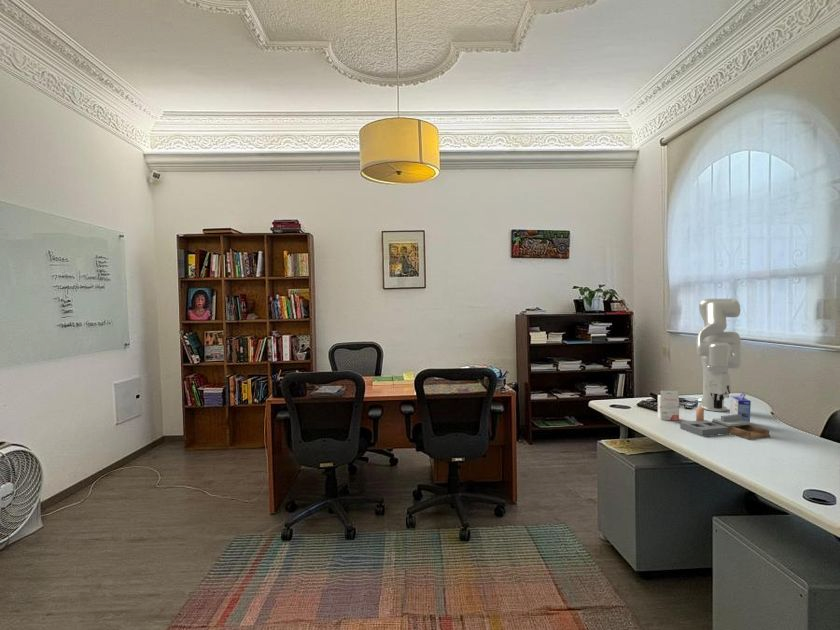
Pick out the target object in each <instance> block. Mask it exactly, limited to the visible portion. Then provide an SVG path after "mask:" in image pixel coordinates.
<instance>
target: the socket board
mask: <svg viewBox="0 0 840 630" xmlns="http://www.w3.org/2000/svg"><path fill="white" fill-rule="evenodd" d="M679 428H680V429H681V430H683V431H685V430H686V432H688V431H689V433H691V434H693V435H694V434H695V435H696V434H697V435H696V436H699V435H700V436H699V437H702V436H704V437H711V436H710V435H714V436H719V435H718V434H724V435H730V434H729V427H726V426H722V425H719V424H716V423H713V422H712V421H710V420H707V419H704V420H701V421H696V420H691V421H681V422H680V423H679Z"/></svg>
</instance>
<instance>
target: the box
mask: <svg viewBox="0 0 840 630" xmlns="http://www.w3.org/2000/svg"><path fill="white" fill-rule="evenodd" d="M711 422H713V423H716V424H719V425H722V426H726V427H729V433H730V434H729V435H732V434H733V436H735V435H736V436H735V437H739V438H741V439H745V440H757V439H765V438H768V439H769V438H771V435H770V430H768V429H766V428H761V427H759V426H755V425H753V424H750V425H740V426H727V425H724V424H721V423H718V422H714V421H713V420H711Z"/></svg>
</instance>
